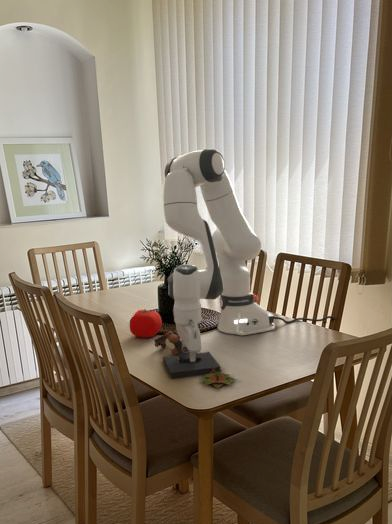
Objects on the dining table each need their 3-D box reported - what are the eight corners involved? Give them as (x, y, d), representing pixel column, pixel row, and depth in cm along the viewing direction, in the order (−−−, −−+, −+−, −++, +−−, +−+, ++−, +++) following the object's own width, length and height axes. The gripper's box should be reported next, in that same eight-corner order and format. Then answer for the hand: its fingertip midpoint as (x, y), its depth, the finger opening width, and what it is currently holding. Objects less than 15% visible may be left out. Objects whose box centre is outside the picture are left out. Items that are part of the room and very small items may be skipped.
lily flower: (217, 370, 176) (217, 357, 174) (245, 381, 168) (245, 367, 166) (190, 381, 168) (189, 368, 167) (217, 393, 160) (217, 379, 159)
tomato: (126, 334, 212) (124, 308, 208) (156, 329, 217) (155, 304, 214) (136, 342, 203) (135, 316, 199) (168, 337, 208) (166, 311, 204)
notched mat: (209, 357, 187) (209, 351, 187) (220, 372, 175) (220, 366, 174) (163, 362, 184) (163, 356, 183) (171, 378, 171) (171, 372, 170)
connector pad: (196, 359, 186) (196, 351, 185) (200, 365, 180) (200, 357, 179) (179, 361, 185) (178, 353, 183) (182, 367, 179) (182, 359, 178)
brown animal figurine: (168, 360, 187) (156, 338, 187) (158, 363, 196) (147, 343, 195) (195, 344, 192) (184, 323, 192) (185, 348, 201) (174, 328, 200)
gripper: (205, 324, 168) (206, 366, 173) (190, 306, 186) (191, 344, 191) (185, 326, 166) (186, 368, 171) (171, 308, 185) (173, 346, 190)
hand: (189, 355), depth 181 cm, fingers open, 8 cm apart
